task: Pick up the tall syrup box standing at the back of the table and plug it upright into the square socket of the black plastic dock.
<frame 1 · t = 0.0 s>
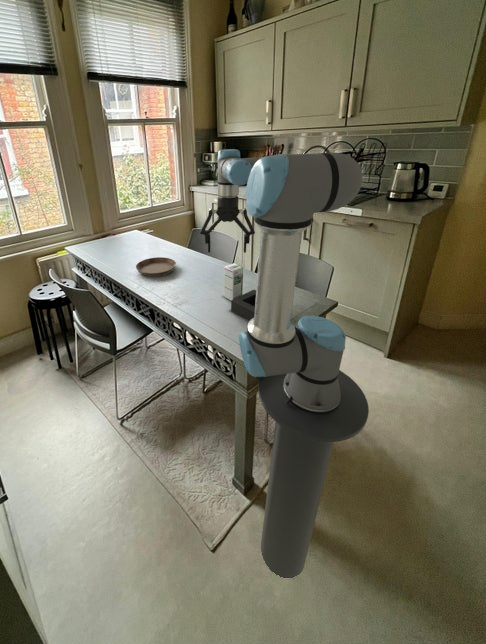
hand: (226, 251, 122), 23 cm above the table, tool pointing down, fingers open, 13 cm apart
dock: (255, 311, 125), on the table
syrup box: (232, 297, 136), on the table
plant saucer: (156, 270, 164), on the table
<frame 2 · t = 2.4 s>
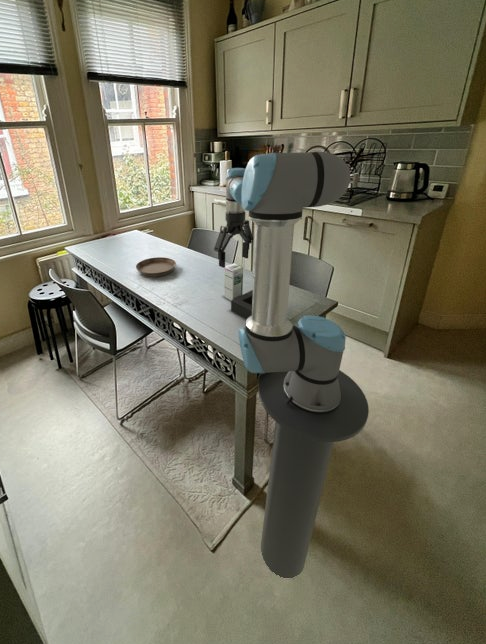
hand: (233, 262, 129), 16 cm above the table, tool pointing down, fingers open, 13 cm apart
nothing on the table moved.
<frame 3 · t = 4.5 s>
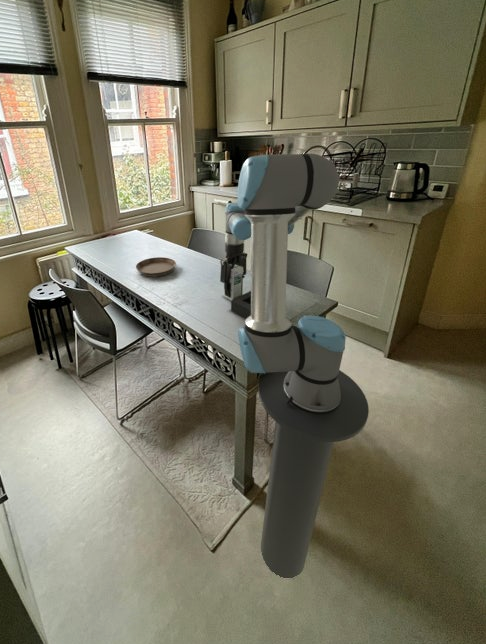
hand: (233, 293, 135), 2 cm above the table, tool pointing down, fingers closed on syrup box, 6 cm apart
syrup box: (232, 297, 136), on the table, touching gripper
everything else where it was.
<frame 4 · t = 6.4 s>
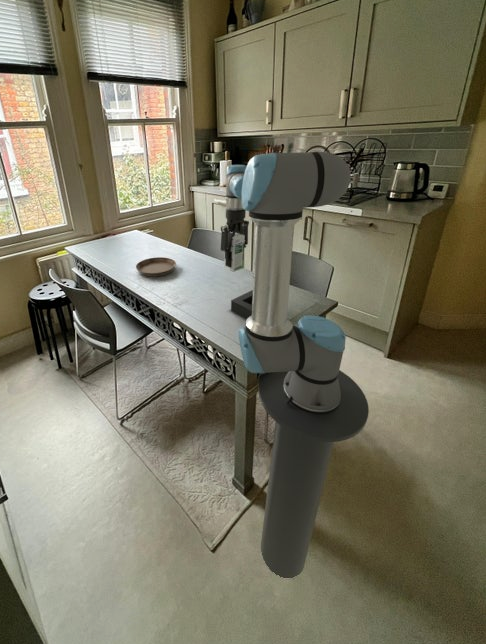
hand: (234, 264, 129), 16 cm above the table, tool pointing down, fingers closed on syrup box, 6 cm apart
syrup box: (233, 268, 130), point 14 cm above the table, touching gripper
everything else where it was.
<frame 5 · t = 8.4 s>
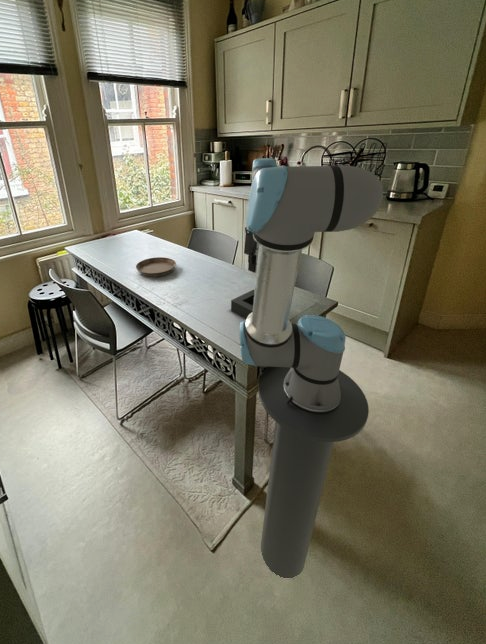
hand: (257, 268, 117), 19 cm above the table, tool pointing down, fingers closed on syrup box, 6 cm apart
syrup box: (257, 273, 118), point 17 cm above the table, touching gripper
everything else where it was.
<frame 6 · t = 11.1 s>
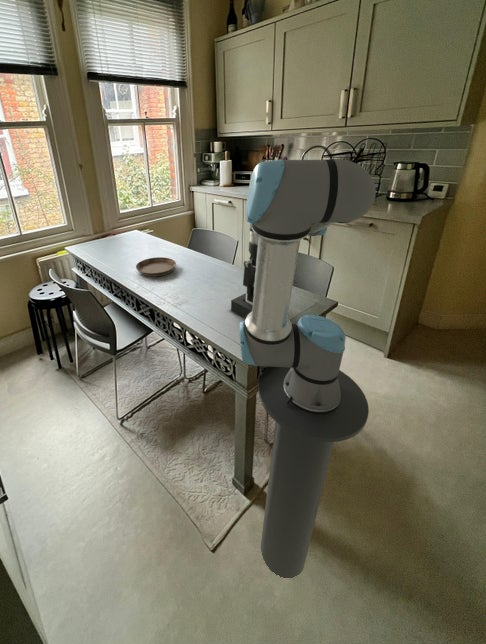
hand: (255, 298, 122), 6 cm above the table, tool pointing down, fingers closed on syrup box, 6 cm apart
syrup box: (255, 302, 123), point 4 cm above the table, touching gripper
everything else where it was.
when the fingers open (4 cm above the table, at t = 13.4 s): syrup box stays where it is, resting in dock.
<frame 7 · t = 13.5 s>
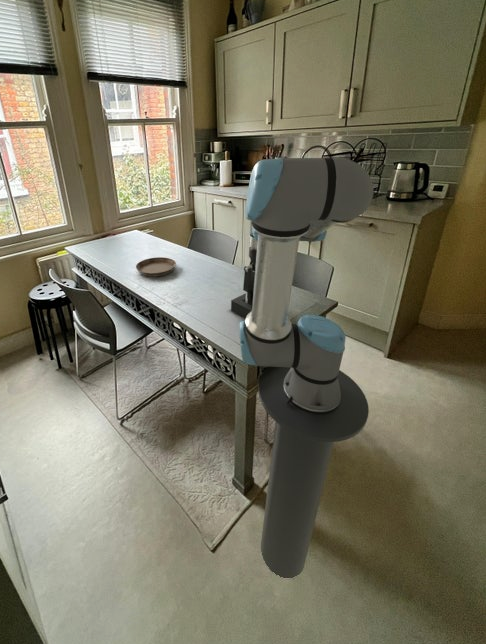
hand: (256, 302, 123), 4 cm above the table, tool pointing down, fingers open, 6 cm apart
syrup box: (254, 312, 125), resting in dock, touching gripper
everything else where it was.
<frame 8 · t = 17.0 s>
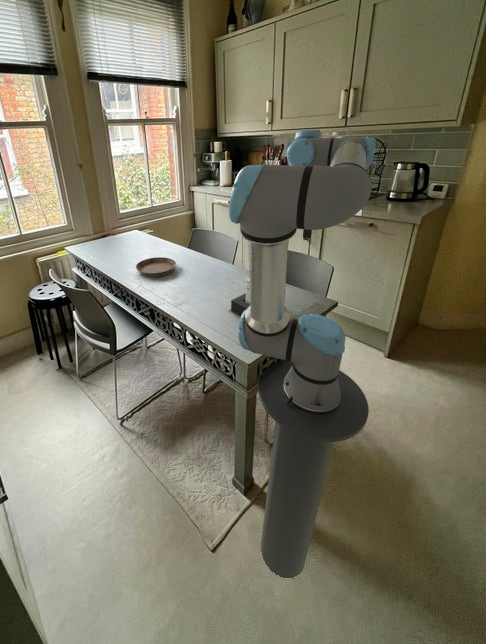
hand: (295, 242, 113), 29 cm above the table, tool pointing down, fingers open, 13 cm apart
syrup box: (254, 312, 125), resting in dock
everything else where it was.
at the end: syrup box 0.2 cm off-centre in the dock, point 0.0 cm above the dock's base; syrup box tilted 0°; the gripper is holding nothing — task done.
